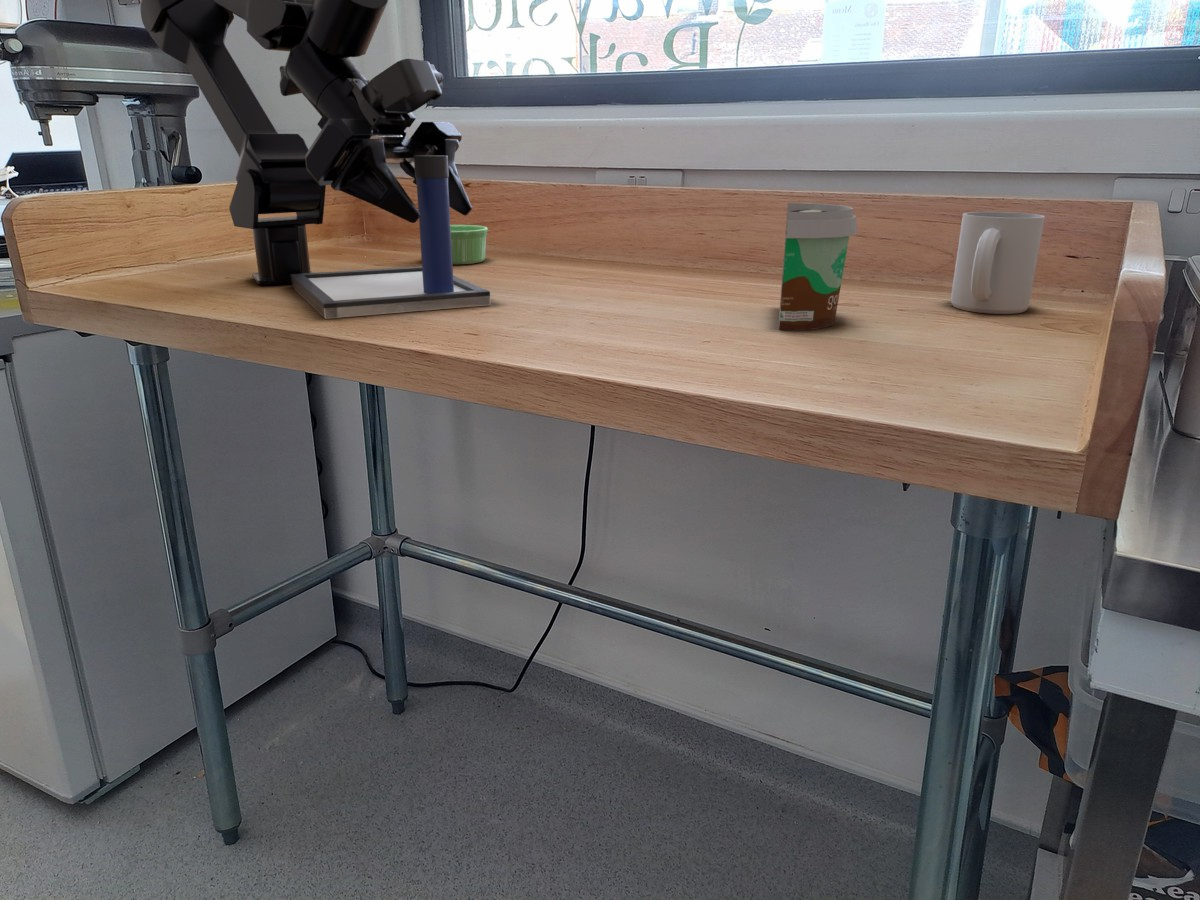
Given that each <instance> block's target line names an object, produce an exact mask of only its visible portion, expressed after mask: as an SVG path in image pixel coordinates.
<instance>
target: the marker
mask: <svg viewBox="0 0 1200 900" xmlns="http://www.w3.org/2000/svg"><path fill="white" fill-rule="evenodd" d="M414 167H415V177H416V181H417V185H416V195H417V210H418V212H419V213H420V217H419V219H418V227H419V240H420V255H421V266H422V273H423V289H424V293H427V294H432V293H446V292H454V284H453V275H454V268H453V266H454V265H452V246H451V227H450V225H451V210H450V207H449V190H448V177H449V170H448V156H438V155H420V156H414Z"/></svg>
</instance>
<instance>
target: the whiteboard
mask: <svg viewBox="0 0 1200 900" xmlns="http://www.w3.org/2000/svg"><path fill="white" fill-rule="evenodd" d="M291 281H292V283H291V287H292V288H293V289H294V290H295V292H297V294H299V295H300V296H301V297H302V298H303V299H304V300H305V301H306V302H307V303H308V304H309V305H311V307H312V308H314V310H315V311H316V312H318V314H320V315H321V316H322V317H323V318H324V319H325V320H326V319H327V320H329V319H339V318H350V317H364V316H378V315H388V314H389V315H390V314H400V313H411V312H412V313H413V312H423V311H437V310H449V309H461V308H472V307H474V308H475V307H486V306H491V304H492V303H491V291H490V290H487V289H485V288H483V287H481V286H478V285H476V284H474V283H472V282H470V281H467V280H465V279H463V278H460V277H458V276H456V275H454V274H453V284H454V292H446V293H432V294H427V293H424V289H423V273H422V265H421V266H420V265H419V266H406V267H390V268H370V269H356V270H355V269H353V270H339V271H338V270H337V271H319V272H313V273H302V274H291Z"/></svg>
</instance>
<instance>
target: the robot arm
mask: <svg viewBox="0 0 1200 900" xmlns="http://www.w3.org/2000/svg"><path fill="white" fill-rule="evenodd" d="M388 2H389V0H141V2H140V18H141V22H142V24H143V27H144V29H145V30H146V31H147V32H148V33H149V36H150V38H152V40H153V41H154V43H155V44H156V45H157V46H158V48H159V49H160V50H161V51H162V52H163V53H164V54H165V55H167V56H169V57H170V58H172V59H174V60H176V61H177V62H178V63H181V64H182V65H184V66H186V67H187V69H188V71H189V72H190V74H191V76H192V77H193V79H194V81H195V82H196V84H197V86H198V87H199V90H200V91H201V93H202V94H203V97H204V99H205V100H206V101H207V103H208V105H209V107H210V108H211V110H212V112H213V113H214V115H215V117H216V119H217V121H218V122H219V124H220V126H221V127H222V129H223V131H224V132H225V134H226V136H227V137H228V139H229V141H230V143H231V145H232V146H233V148H234V150H235V152H236V154H237V156H238V157H239V160H238V165H237V171H236V176H235V179H236V180H235V181H236V186H235V188H234V192H233V195H232V197H231V201H230V204H229V208H228V209H229V213H230V216H231V220H232V223H233V226H234V227H237V228H243V229H250V230H252V235H253V236H252V237H253V243H254V251H255V258H256V266H257V272H253V273H252V279H254V280H255V282H256V284H258V285H276V284H278V285H279V284H290V283H291V284H292V281H291V274H302V273H314V272H313V271H311V262H310V253H309V243H308V236H307V226H306V225H323V223H324V222H323V221H324V213H325V201H326V188H327V186H330V187H331V189H332V190H333V191H336V192H337V191H339V192H343V193H344V194H347V195H349V196H352V197H354V198H356V199H359V200H361V201H364V202H366V203H368V204H370V205H372V206H375V207H377V208H379V209H381V210H383V211H386V212H388V213H389V214H392V215H393V216H397V217H398V218H400V219H402V220H404V221H406V222H409V223H411V224H415V223H416V222H417V221H419V217H420V213H419V212H418V207H417V206H416V205H415V203H414V202H413V200H412V199H411V197H410V196H409V194H408V193H407V191H406V190H405V189H404V187H403V186H402V184H401V183H400V182H399V179H397V178H396V176H395V175H394V173H393V172H392V170H391V169H390V167H389V166H388V164H391V163H392V164H393V163H394V164H395V163H399V168H401V170H402V171H403V172H404V173H405V174H406V175H407V176H409V177H411V178H412V179H413V181H412V183H413V184H414V185H415V186H417V181H416V177H415V167H414V156H420V155H438V156H448V170H449V177H448V190H449V208H451V209H452V210H454V211H455V212H457V213H459V214H460V215H461V216H465V217H466V216H468V215H469V214H470V213H471V212H472V210H473V206H472V204H471V201H470V200H469V197H468V194H467V192H466V190H465V188H464V185H463V182H462V180H461V178H460V175H459V173H458V170H457V166H456V163H455V157H456V153H457V151H458V149H459V148H460V142H461V141H462V138H463V137H462V134H461V133H460V132H459V130H457V128H456V127H455V126H454V125H453V123H451V122H450V121H449V122H448V121H447V122H446V121H421V122H420V124H419V125H418V127H417V128H416V129H415V130H414V132H413V133H412V135H411V136H410V137H409V138H408V137H407V138H406V136H407V131H406V129H407V128H410V127H412V125H413V124H414V122H415V121H416V119H417V118H416V116H415V115H414V114H413V112H415V111H416V110H418V109H421V107H423V106H425V105H426V104H428V103H429V102H431V101H437V100H438V99H440V98H441V97H442V96H443V88H444V84H443V81H444V75H443V74H442V73H441V72H440V71H437V68H436V67H435V65H434V64H433V63H432V64H431V63H430V62H429V61H428V60H421V59H415V58H404V59H401V60H398V61H396V62H395V63H393V64H392V65H390V66H388V67H387V68H386V69H384V70H383V71H381V72H380V73H378V74H377V75H375V76H374V77H373V78H372V79H367V78H366V77H365V75H363V73H362V71H360V70H359V68H358V67H357V66H356V65H355V64H354V63H353V61H352V60H351V59H350V58H358V57H362V56H364V55H366V53H367V51H368V49H369V47H370V45H371V44H370V43H371V42H372V39H373V37H374V34H375V33H376V31H377V27H378V26H379V24H380V21H381V18H382V17H383V15H384V11H385V10H386V7H387V5H388ZM234 15H235V16H237V17H239V18H240V19H242V20H243V21H245V22H246V32H247V33H248V35H249V36H251V38H252V39H254V40H255V42H256V43H258V45H259V46H260V47H262V48H263V49H265V50H268V51H280V52H289V53H288V57H287V59H286V61H285V65H280V66H279V72H280V80H279V89H280V95H281V96H283V97H289V96H293V95H299V94H302V95H303V96H304V97H305V99H306V100H307V101H308V102H309V103H310V105H311V106H312V107H313V108H314V109H315V110H316V112H317V113H318V114H319V115H320V116H321V118H320V119H319V121H318V122H317V126H318V127H319V128H320V129H321V130H320V132H319V133H318V135H317V136H316V138H315V139H314V140H313V142H312V144H311V145H310V147H308V145H307V143H306V141H305V139H304V138H303V137H302V136H301V135H300V134H299V133H278V131H277V129H276V128H275V126H274V124H273V123H272V121H271V120H270V117H269V116H268V114H267V113H266V111H265V110H264V108H263V106H262V104H261V103H260V101H259V99H258V98H257V96H256V95H255V93H254V91H253V90H252V88H251V86H250V84H249V83H248V81H247V79H246V78H245V76H244V74H243V72H242V71H241V69H240V67H239V66H238V64H237V63H236V61H235V59H234V58H233V56H232V55H231V53H230V51H229V49H228V48H227V46H226V43H225V41H226V38H227V32H228V29H229V27H230V25H231V24H232V23H233V20H234V19H235V16H234ZM288 213H295V214H296V215H291V216H274V217H259V215H271V214H272V215H273V214H288Z"/></svg>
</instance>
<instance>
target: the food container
mask: <svg viewBox="0 0 1200 900" xmlns="http://www.w3.org/2000/svg"><path fill="white" fill-rule="evenodd" d="M786 207H787V210H786V221H785V232H784V233H785V235H784V246H783V247H784V248H783V262H782V274H781V287H780V299H779V300H780V301H779V315H778V316H779V318H778V330H780V331H782V330H787V331H797V330H798V331H799V330H801V331H803V330H815V329H823V328H827V327H830V326H833V325H834V324H835V322H836V316H837V311H838V305H839V298H840V294H841V287H842V281H843V276H844V270H845V263H846V259H847V252H848V246H849V240H850V236H851V237H852V236H856V235H858V232H859V231H858V225H857V215H854V208H853V207H852V206H847V205H840V204H829V203H813V202H812V203H811V202H787V206H786Z"/></svg>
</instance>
